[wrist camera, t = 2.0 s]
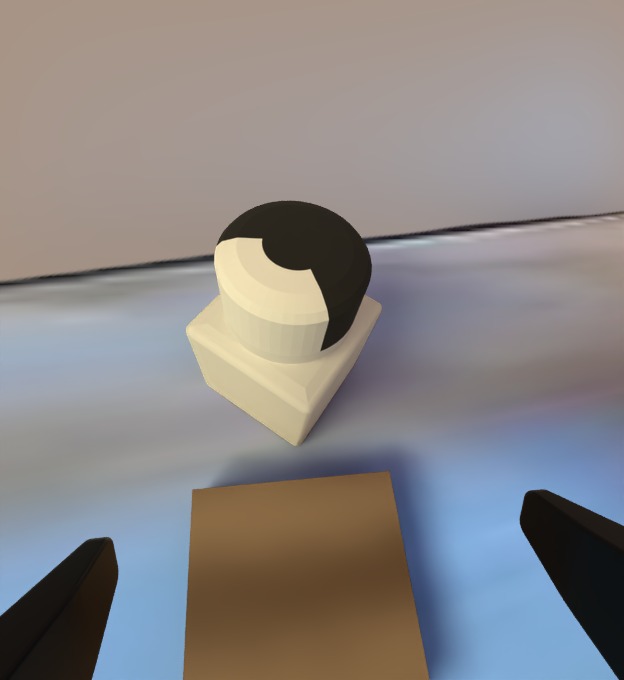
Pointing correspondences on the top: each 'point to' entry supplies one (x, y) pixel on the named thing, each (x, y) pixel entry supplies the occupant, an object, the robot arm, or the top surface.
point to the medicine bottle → (285, 314)
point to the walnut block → (300, 583)
